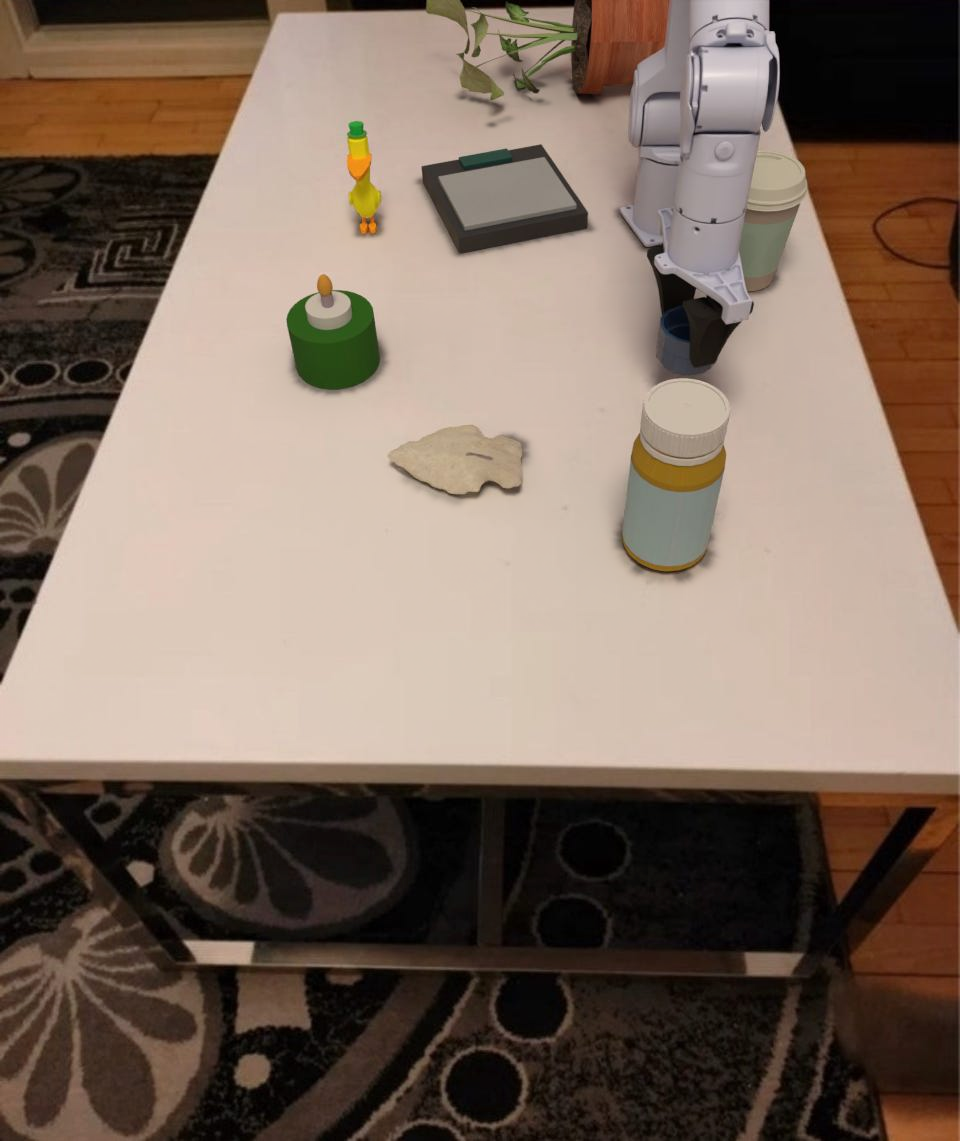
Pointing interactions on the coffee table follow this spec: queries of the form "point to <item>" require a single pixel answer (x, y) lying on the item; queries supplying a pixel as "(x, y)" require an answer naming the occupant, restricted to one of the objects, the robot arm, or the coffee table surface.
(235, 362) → the coffee table surface
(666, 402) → the bottle
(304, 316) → the candle
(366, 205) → the toy figure
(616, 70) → the potted plant
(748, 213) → the coffee cup
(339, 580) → the coffee table surface
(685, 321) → the blue cup
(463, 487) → the decorative stone
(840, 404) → the coffee table surface
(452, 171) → the scale
